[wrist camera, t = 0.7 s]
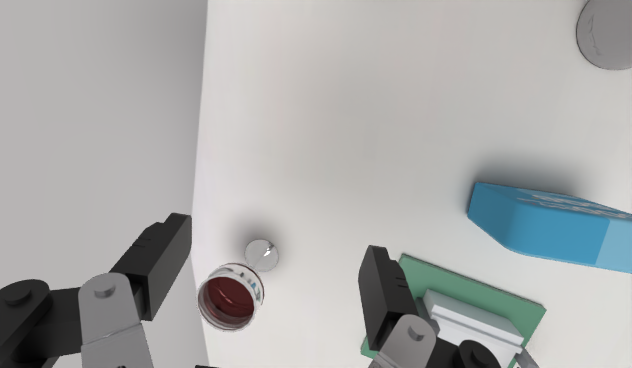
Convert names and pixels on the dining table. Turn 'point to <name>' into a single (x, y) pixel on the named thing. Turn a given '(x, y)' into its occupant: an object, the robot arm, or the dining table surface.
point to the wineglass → (236, 289)
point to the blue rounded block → (554, 226)
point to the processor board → (470, 295)
